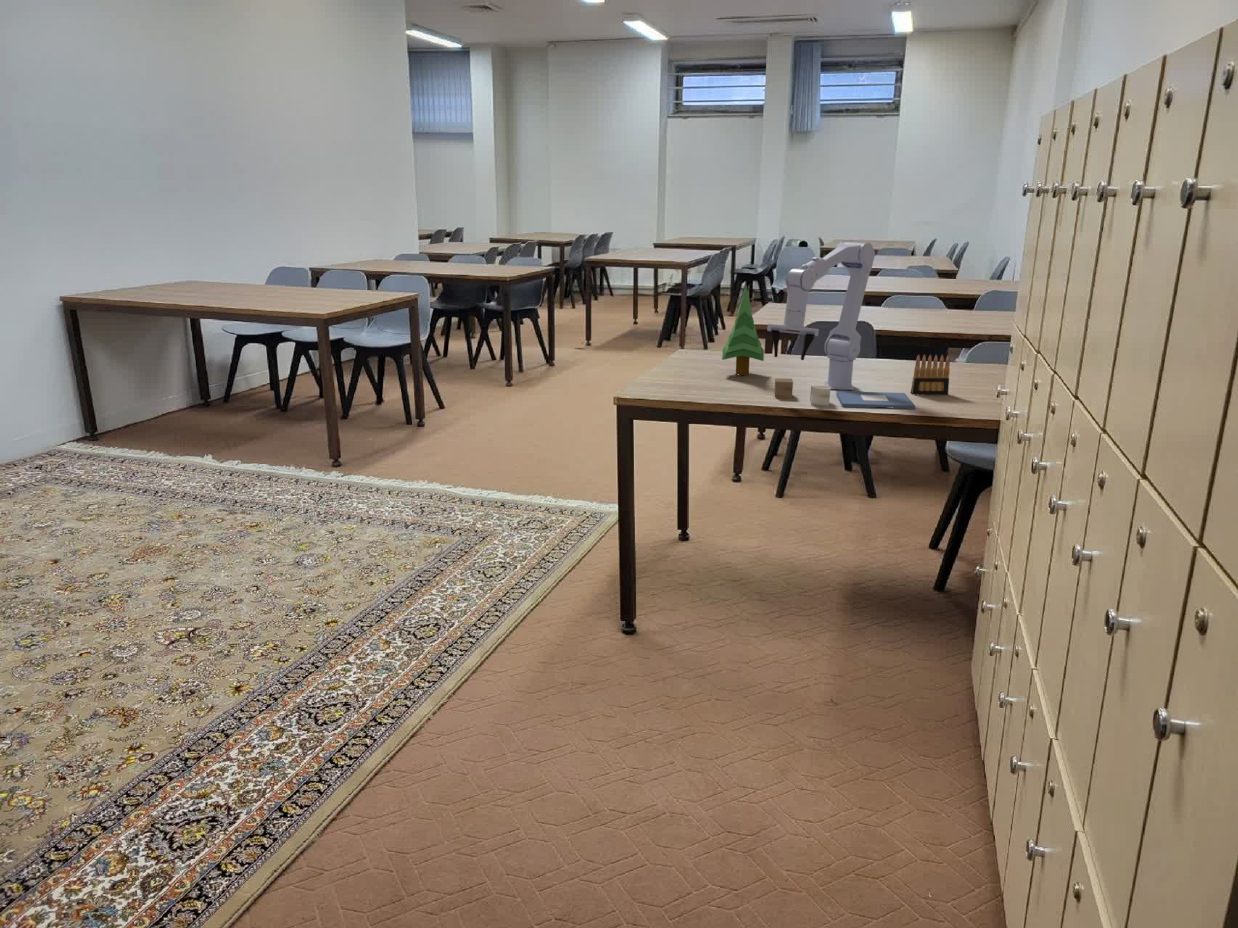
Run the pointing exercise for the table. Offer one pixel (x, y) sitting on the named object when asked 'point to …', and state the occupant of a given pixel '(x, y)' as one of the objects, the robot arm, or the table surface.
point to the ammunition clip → (931, 377)
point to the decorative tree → (743, 338)
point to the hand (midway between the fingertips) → (788, 358)
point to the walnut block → (783, 387)
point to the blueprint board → (874, 399)
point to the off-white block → (820, 395)
